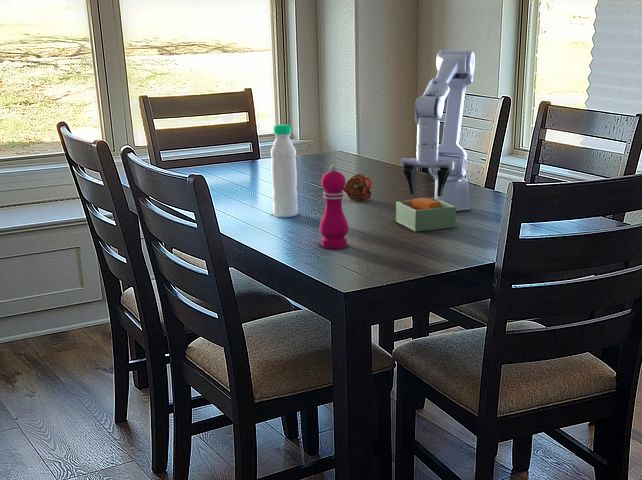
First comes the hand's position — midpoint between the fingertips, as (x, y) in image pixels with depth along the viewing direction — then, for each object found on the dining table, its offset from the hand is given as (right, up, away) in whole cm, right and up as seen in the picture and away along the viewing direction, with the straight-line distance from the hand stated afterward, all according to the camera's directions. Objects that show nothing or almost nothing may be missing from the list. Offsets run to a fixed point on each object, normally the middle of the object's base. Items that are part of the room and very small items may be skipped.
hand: (426, 194), depth 230 cm
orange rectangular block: (0, -7, +3) cm, 8 cm away
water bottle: (-39, -4, +13) cm, 41 cm away
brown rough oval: (-19, +4, +32) cm, 37 cm away
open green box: (0, -8, +3) cm, 8 cm away
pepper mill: (-24, -16, -17) cm, 34 cm away
